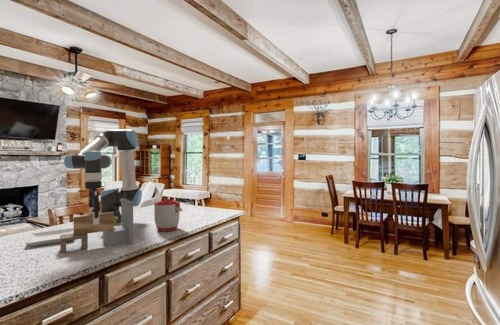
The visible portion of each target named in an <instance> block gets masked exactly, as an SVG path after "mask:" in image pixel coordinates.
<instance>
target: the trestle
mask: <svg viewBox="0 0 500 325" xmlns="http://www.w3.org/2000/svg"><path fill="white" fill-rule="evenodd" d="M88 234H89V233H88ZM88 234H81V235H74V233H70V234H64V235H60V253H61V254H63V253H67V242H69V241H74V240H81V244H80V245H81V247H82V249H83V250H88V248H89V244H88V243H89V241H88V240H89V239H88Z"/></svg>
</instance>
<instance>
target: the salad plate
mask: <svg viewBox="0 0 500 325" xmlns="http://www.w3.org/2000/svg"><path fill="white" fill-rule="evenodd" d="M70 233H74V227H73V228H72V227H71V228H64V229H56V230H48V231H41V232H33V233H31V234H29V237H28V239H27V240H26V241H25V244H26V245H28V246H32V247H36V246H38V247H39V246H43V245H52V244H58V243H60V235H64V234H70Z"/></svg>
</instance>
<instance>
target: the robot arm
mask: <svg viewBox="0 0 500 325" xmlns="http://www.w3.org/2000/svg"><path fill="white" fill-rule="evenodd" d="M138 146H139V136H138V134H137V132H136V131H135V130H134V129H127V128H126V129H123V128H122V129H120V128H119V129H113V128H112V129H106V130H103V131H102V132H99V133H98V134H96V135H95V136H94V137H93V139H92V141H90V142H89V143H88V144H86V145H85V146H84V147H82V148H81V149H80V150H79V151H77V152H76V153H75V154H67V155H66V156H65V157H64V159H63V163H64V166H65V168H67V169H69V170H73V169H74V170H77V169H78V170H80V169H84V174H83V177H84V180H85V182H84V188H85V190H88V203H87V205H88V215H90V214H93V225H96V224H99V213H107V212H113V213H114V217H118V219H117V221H116V224H118V223H121V211H120V210H121V209H120V207H121V202H120V199H124V198H125V199H127V200H129V201H131V202H134V206H133V207H138V206H139V205H140V204H141V202H142V197H143V196H142V195H143V191H142V190H141V189H139V188H140V187H139V186H138V185H137V182H136V166H135V155H134V154H135V152H134V151H136V148H137V147H138ZM110 147H113V148H116V149H117V152H119V158H120V169H121V170H120V171H121V180H122V182H121V183H122V186H121V187H120V188H119V187H114V188H108V189H103V190H101V191H100V193H99V191H98V189H102V187H103V182H102V178H103V176H102V175H103V172H102V169H107V168H109V167H110V166H111V165H112V157H111V156H109V155H107V154H102V152H101V151H102V150H104V149H107V148H110ZM99 194H100V198H99Z"/></svg>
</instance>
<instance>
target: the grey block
mask: <svg viewBox="0 0 500 325" xmlns="http://www.w3.org/2000/svg"><path fill="white" fill-rule="evenodd" d="M120 202H121V208H120V210H121V211H120V213H121V222H120V223H121V225H116V226H114V230H111V231H110V230H108V231H102V237H103V238H102V240H103V242H104V243H105V246H106V247H111V246H118V245H122V244H129V245H131V244H134V242H135V240H134V236H135V234H134V233H135V232H134V207H135V206H134V202H131V201H129V200H127V199H125V198H124V199H120Z"/></svg>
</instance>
